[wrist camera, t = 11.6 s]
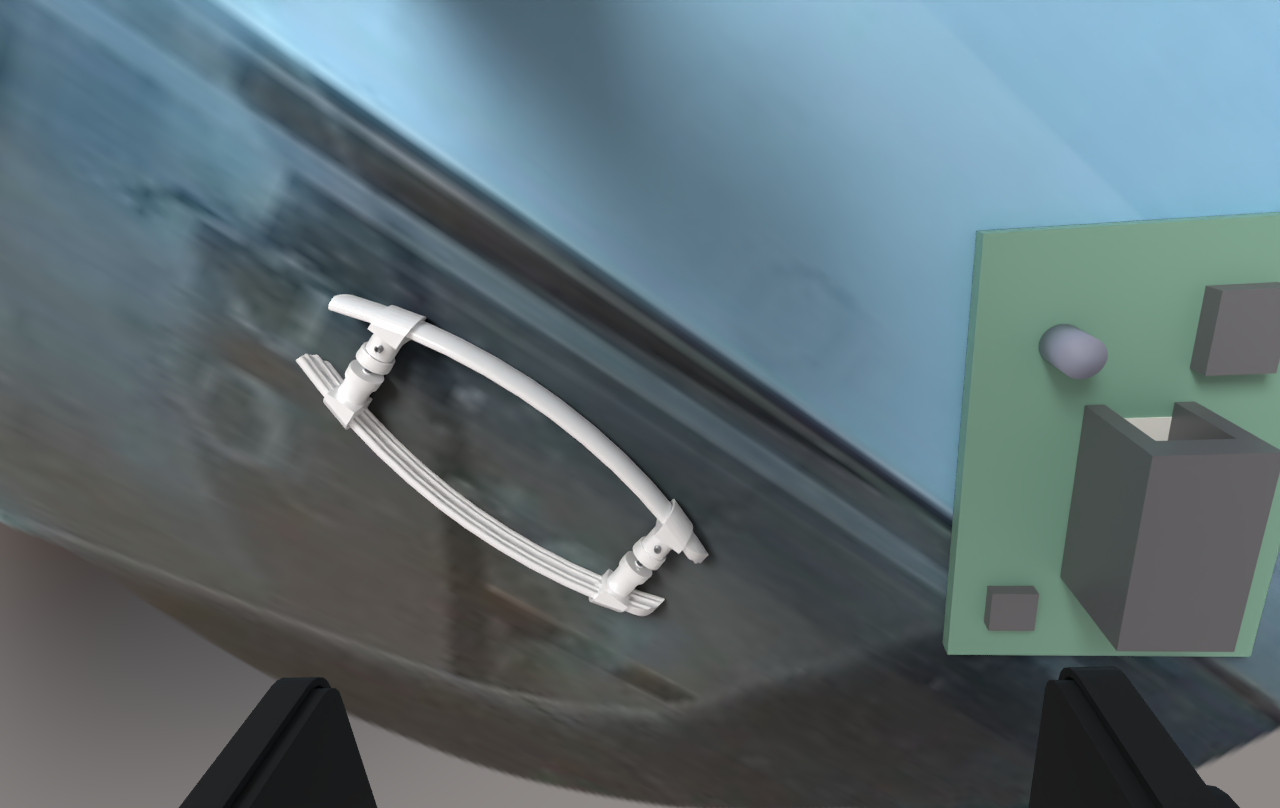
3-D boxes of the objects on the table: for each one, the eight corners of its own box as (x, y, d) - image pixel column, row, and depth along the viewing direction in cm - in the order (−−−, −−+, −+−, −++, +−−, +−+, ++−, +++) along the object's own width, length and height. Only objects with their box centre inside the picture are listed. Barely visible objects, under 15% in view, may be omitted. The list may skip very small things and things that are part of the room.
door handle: (375, 250, 38) (736, 520, 42) (293, 385, 42) (634, 625, 45) (350, 258, 36) (737, 545, 39) (266, 401, 39) (628, 654, 42)
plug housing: (1085, 405, 36) (1152, 455, 30) (1194, 401, 35) (1284, 452, 29) (1060, 577, 39) (1116, 651, 33) (1159, 576, 38) (1234, 652, 33)
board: (976, 231, 34) (1002, 241, 31) (1350, 207, 32) (1418, 215, 29) (942, 643, 43) (960, 684, 39) (1238, 644, 41) (1281, 688, 37)
